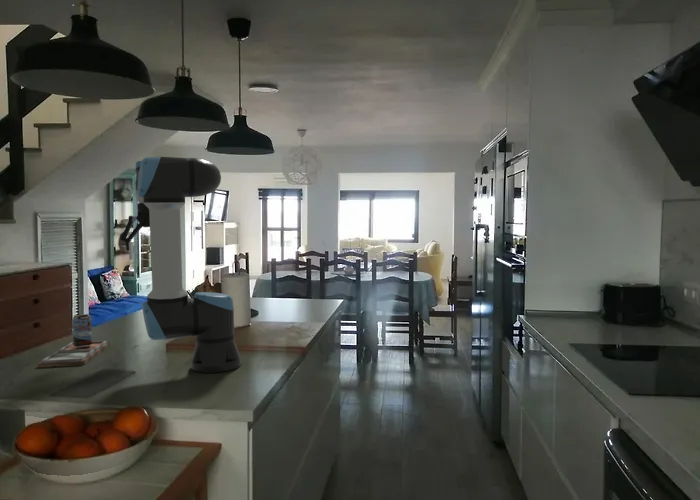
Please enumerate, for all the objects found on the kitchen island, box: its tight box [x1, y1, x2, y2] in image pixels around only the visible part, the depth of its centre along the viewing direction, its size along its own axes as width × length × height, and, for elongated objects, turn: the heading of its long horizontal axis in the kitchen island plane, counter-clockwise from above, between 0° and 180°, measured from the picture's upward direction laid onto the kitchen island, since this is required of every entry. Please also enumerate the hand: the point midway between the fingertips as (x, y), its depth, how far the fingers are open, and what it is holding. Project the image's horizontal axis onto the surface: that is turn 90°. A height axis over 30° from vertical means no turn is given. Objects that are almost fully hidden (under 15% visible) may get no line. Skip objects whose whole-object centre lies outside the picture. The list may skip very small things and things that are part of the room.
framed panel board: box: [37, 340, 110, 368], centre depth 184 cm, size 26×14×2 cm, turn 7°
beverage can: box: [71, 313, 93, 348], centre depth 190 cm, size 6×7×12 cm
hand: (150, 258), depth 201 cm, fingers open, 13 cm apart
